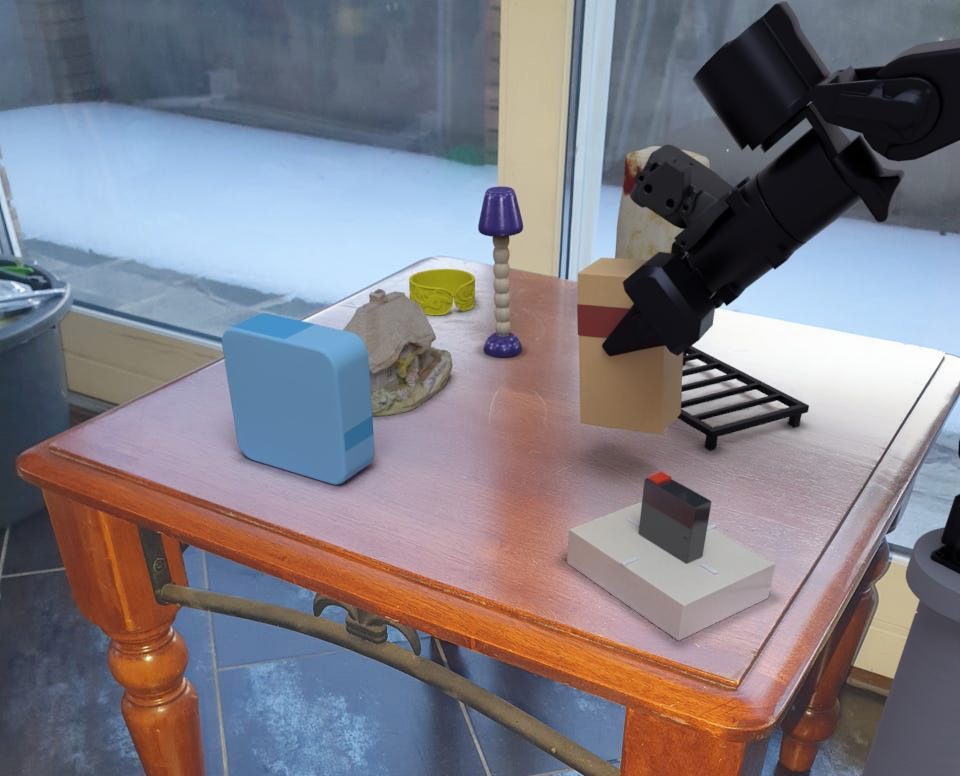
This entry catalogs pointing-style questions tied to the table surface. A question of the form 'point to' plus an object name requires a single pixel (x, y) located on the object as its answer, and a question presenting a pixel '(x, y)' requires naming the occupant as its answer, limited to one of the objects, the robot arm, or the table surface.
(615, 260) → the packet
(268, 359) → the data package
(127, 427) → the table surface
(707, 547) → the light grey block
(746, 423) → the bed frame
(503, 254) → the toy lamp
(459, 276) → the bracelet
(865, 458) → the table surface
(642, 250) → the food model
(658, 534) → the gray box
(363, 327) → the ceramic model
